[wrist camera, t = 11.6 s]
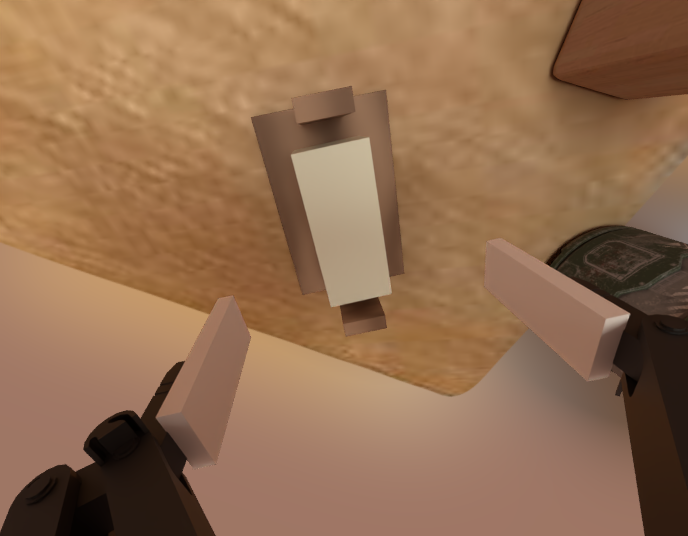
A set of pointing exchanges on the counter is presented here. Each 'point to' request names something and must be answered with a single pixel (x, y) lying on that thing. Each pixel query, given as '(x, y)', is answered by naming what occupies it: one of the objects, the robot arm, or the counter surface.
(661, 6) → the block
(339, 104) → the peg frame
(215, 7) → the counter surface
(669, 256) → the canister
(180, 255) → the counter surface
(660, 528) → the robot arm
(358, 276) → the cream rectangular block
